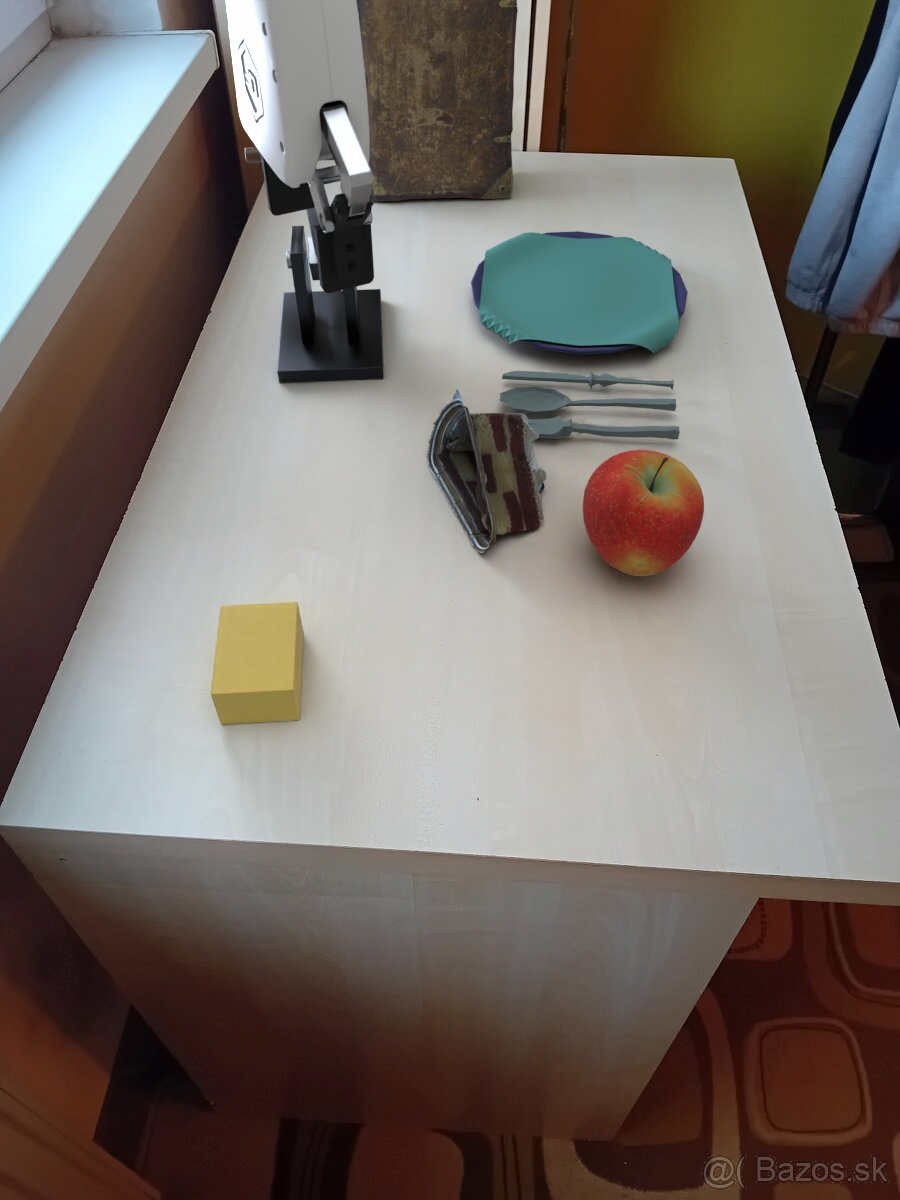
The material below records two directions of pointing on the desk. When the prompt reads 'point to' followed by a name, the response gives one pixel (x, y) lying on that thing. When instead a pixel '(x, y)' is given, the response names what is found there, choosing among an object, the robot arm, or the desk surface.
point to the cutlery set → (580, 316)
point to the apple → (642, 511)
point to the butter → (258, 663)
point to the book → (439, 97)
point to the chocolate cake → (487, 471)
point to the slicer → (327, 328)
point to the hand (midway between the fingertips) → (319, 246)
